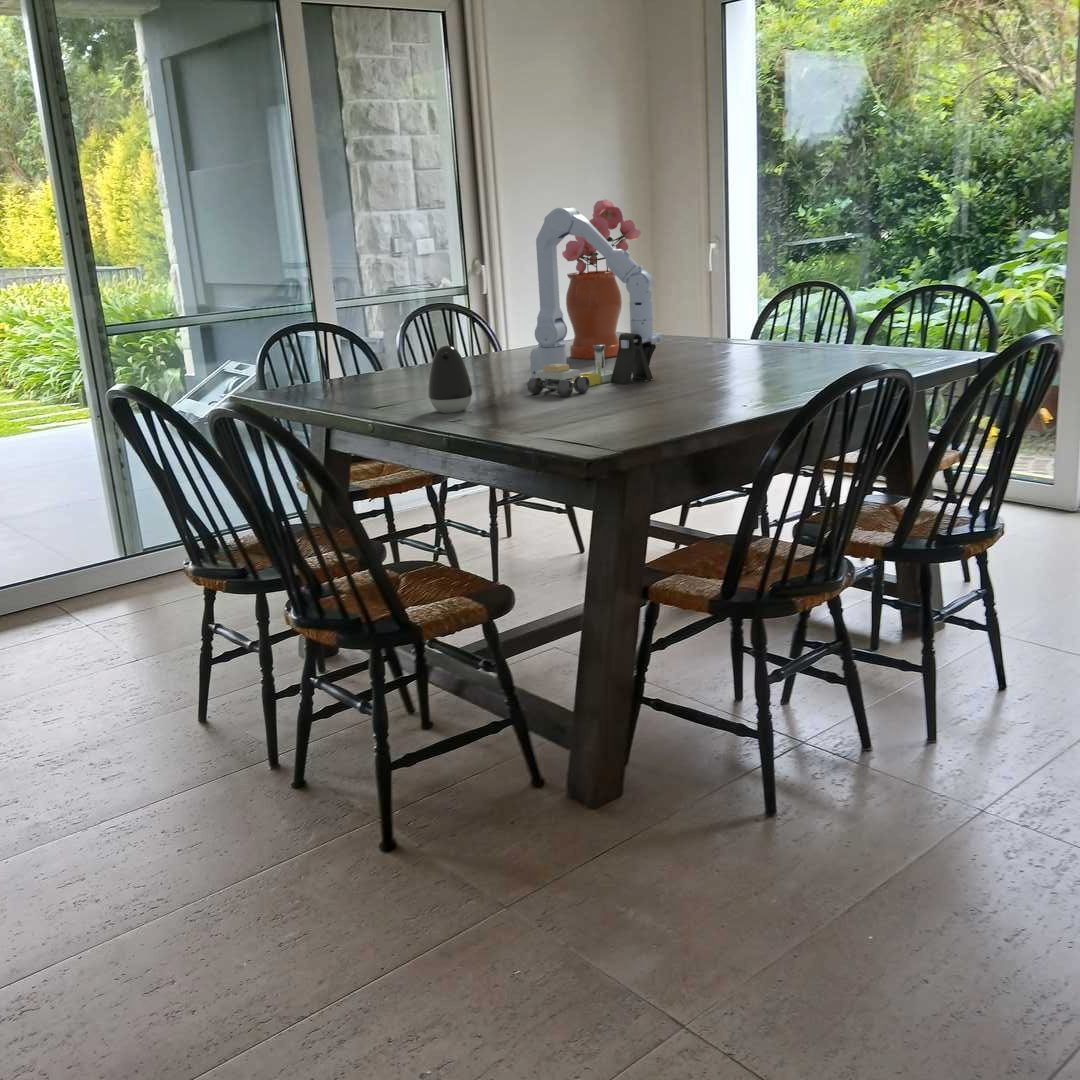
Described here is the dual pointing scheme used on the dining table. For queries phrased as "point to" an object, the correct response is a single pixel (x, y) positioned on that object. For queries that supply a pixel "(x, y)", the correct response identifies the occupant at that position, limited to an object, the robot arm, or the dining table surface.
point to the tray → (604, 376)
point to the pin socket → (591, 378)
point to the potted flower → (596, 287)
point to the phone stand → (631, 361)
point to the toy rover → (558, 380)
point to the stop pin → (599, 359)
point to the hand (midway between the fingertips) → (643, 372)
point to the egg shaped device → (449, 381)
